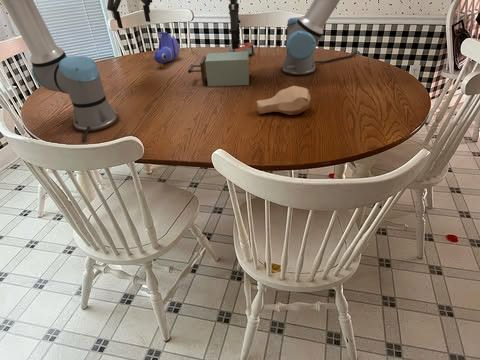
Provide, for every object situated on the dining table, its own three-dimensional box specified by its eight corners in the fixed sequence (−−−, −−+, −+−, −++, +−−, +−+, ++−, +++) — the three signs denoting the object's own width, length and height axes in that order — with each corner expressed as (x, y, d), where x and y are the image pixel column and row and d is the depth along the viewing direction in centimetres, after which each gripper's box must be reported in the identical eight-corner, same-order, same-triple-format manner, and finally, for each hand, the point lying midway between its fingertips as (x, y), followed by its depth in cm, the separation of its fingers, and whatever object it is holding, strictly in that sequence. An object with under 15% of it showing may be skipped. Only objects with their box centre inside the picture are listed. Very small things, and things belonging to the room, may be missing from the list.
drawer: (189, 84, 157) (186, 63, 152) (192, 76, 165) (189, 56, 160) (240, 82, 156) (239, 61, 150) (241, 74, 164) (240, 54, 158)
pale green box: (207, 86, 157) (205, 61, 150) (210, 77, 166) (208, 53, 159) (248, 85, 156) (247, 59, 149) (249, 75, 165) (248, 51, 158)
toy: (167, 63, 198) (147, 69, 175) (163, 31, 191) (141, 33, 169) (184, 63, 195) (166, 69, 173) (180, 30, 189) (161, 32, 166)
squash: (314, 116, 128) (313, 95, 122) (259, 125, 130) (256, 105, 124) (308, 99, 136) (307, 78, 129) (257, 108, 138) (253, 88, 131)
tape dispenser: (245, 68, 177) (264, 54, 190) (245, 58, 174) (264, 44, 186) (216, 62, 185) (237, 49, 197) (215, 52, 181) (236, 39, 194)
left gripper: (144, -36, 150) (154, 17, 162) (88, -29, 136) (104, 29, 149) (154, -36, 145) (163, 20, 158) (97, -28, 132) (112, 32, 144)
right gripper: (225, -17, 149) (229, 36, 161) (220, -7, 128) (225, 53, 141) (243, -18, 148) (245, 35, 161) (241, -8, 128) (244, 52, 140)
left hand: (134, 24), depth 154 cm, fingers open, 13 cm apart
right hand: (236, 44), depth 151 cm, fingers open, 13 cm apart
